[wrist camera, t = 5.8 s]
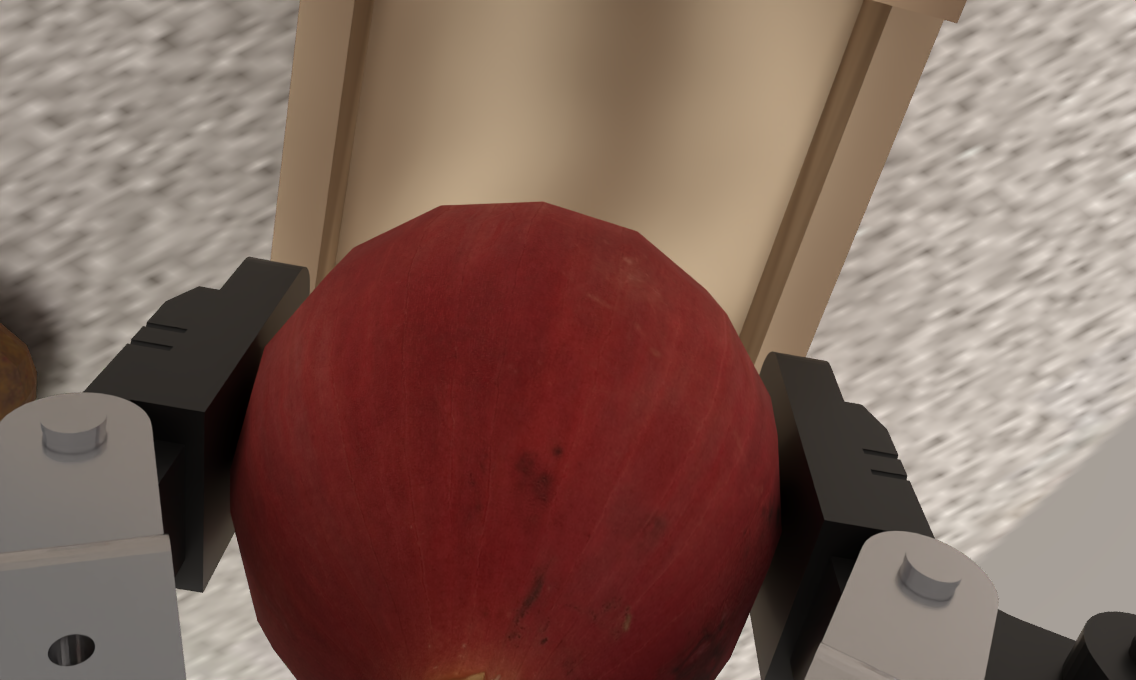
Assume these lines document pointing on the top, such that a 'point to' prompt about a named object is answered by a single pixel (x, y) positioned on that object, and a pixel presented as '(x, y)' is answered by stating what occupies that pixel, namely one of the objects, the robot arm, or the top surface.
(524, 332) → the onion
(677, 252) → the vise base
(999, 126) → the top surface
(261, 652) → the top surface
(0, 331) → the potato
